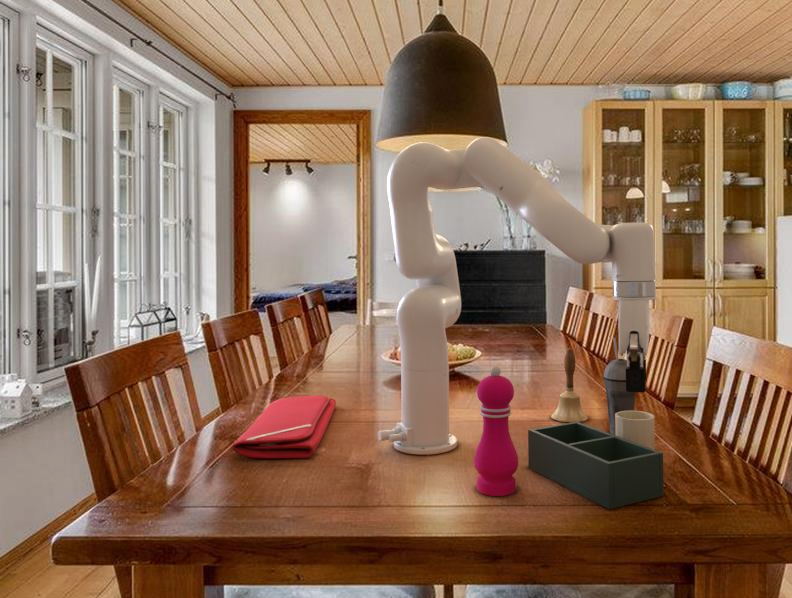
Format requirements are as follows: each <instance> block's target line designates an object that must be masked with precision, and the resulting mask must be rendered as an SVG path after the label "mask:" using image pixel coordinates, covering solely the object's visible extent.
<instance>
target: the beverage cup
mask: <svg viewBox="0 0 792 598" xmlns="http://www.w3.org/2000/svg"><path fill="white" fill-rule="evenodd" d="M612 340H613V347H614V354H615V359H613V360H610V362H608V363H607V365H606V366H605V369H604V371H603V376H602V377H603V378H602V379H603V383H604V384H603V385H604V388H605V392H606V405H607V417H608V425H609V433H610V434H613V435H615V414H616V413H617V412H620V411H631V410H632V411H635V408H636V395H637V392H627V391H626V368H627V359H625V358H619V350H618V345H617V338H616V337H613V339H612Z"/></svg>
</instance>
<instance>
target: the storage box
mask: <svg viewBox="0 0 792 598" xmlns="http://www.w3.org/2000/svg"><path fill="white" fill-rule="evenodd" d="M527 447H528V448H527V449H528V450H527V451H528V452H527V454H528V455H527V457H528V459H527V461H528V465H527V466H528V468H527V469H530V470H531V471H533V472H536V473H538V474H540V475H542V476H544V477H546V478H547V479H549V480H551V481H553V482H555V483H557V484H559V485H561V486H563V487H565V488H567V489H569V490H570V491H573V492H575V493H577V494H579V495H580V496H583V497H584V498H586V499H588V500H590V501H592V502H594V503H596V504H597V505H600V506H602V507H604V508H606V509H607V510H612V509H617V508H620V507H624V506H629V505H633V504H636V503H640V502H645V501H649V500H653V499H656V498H661V497H664V495H665V493H664V492H665V491H664V452H662V451H659V450H657V449H655V450H654V449H651V448H648V447H646V446H643V445H640V444H637V443H635V442H632V441H629V440H626V439H624V438H621V437H618V436H615V435H613V434H611V433H610V432H608V431H604V430H601V429H598V428H596V427H594V426H590V425H588V424H586V423H583V422H572V423H569V422H565V423H561V424H554V425H549V426H548V425H547V426H541V427H536V428H531V429H528V430H527Z"/></svg>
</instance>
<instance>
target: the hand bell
mask: <svg viewBox="0 0 792 598" xmlns="http://www.w3.org/2000/svg"><path fill="white" fill-rule="evenodd" d="M564 355H565V356H564V359H563V366H564V371H565V377H566V379H565V384H566V385H565V391H563V392H561V393H560V395H559V399H558V405H557V407H556V409H555V411H554V412H553V413H552V414H551V416H550V417H551V419H553V420H554V421H556V422H561V423H572V422H580V423H584V422H586V421H588V419H589V417H588V415H587V414H586V413H585V412H584V409H583V408H582V405H581V399H580V398H581V397H580V395H579V394H578V393H576V392H575V391H574V375H575V372H576V371H575V370H576V363H577V362H576V361H577V360H576V356H575V353H574V349H573V348H567V349H566V352H565V354H564Z"/></svg>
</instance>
